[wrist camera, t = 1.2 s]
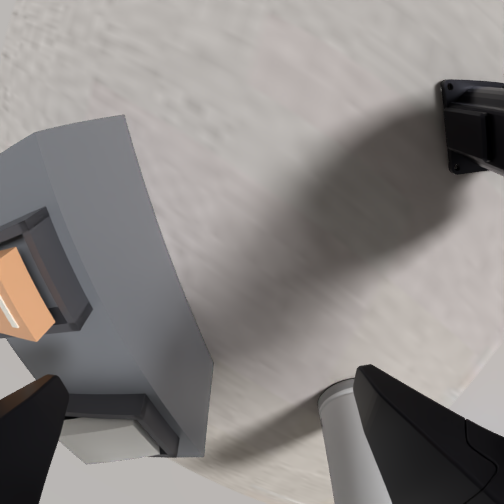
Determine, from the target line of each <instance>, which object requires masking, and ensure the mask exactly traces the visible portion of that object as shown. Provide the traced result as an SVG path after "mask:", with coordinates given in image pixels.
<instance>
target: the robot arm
mask: <svg viewBox="0 0 504 504" xmlns="http://www.w3.org/2000/svg"><path fill="white" fill-rule="evenodd" d="M448 84H449V86H450V89H448V88H447V85H448ZM441 89H442V96H443V103H444V117H445V127H446V138H447V147H448V159H449V170H450V171H451V172H452V173H454V174H457V175H458V174H465V173H472V172H479V171H487V170H491V171H493V172H495V173H497V174H500V175H502V176H504V83H498V82H487V81H473V80H443V81H442V83H441ZM456 164H457V168H456V169H455V165H456ZM353 393H354V397H355V401H356V404H357V408H358V412H359V416H360V419H361V423H362V427H363V431H364V434H365V436H366V439H367V441H368V444H369V446H370V449H371V451H372V454H373V456H374V459H375V461H376V464H377V466H378V469H379V471H380V474H381V476H382V479H383V481H384V484H385V486H386V489H387V491H388V494H389V497H390V499H391V502H392V504H504V437H502V436H500V435H498V434H496V433H493V432H491V431H489V430H487V429H485V428H483V427H481V426H479V425H477V424H475V423H474V422H472V421H470V420H468V419H466V420H465V418H464V417H462V416H460V415H458V414H456V413H455V412H453V411H451V410H449V409H448V408H446V407H444V406H442V405H440V404H439V403H437V402H435V401H433V400H432V399H430V398H428V397H426V396H425V395H423V394H421V393H419V392H418V391H416V390H414V389H413V388H411V387H409V386H407V385H406V384H404V383H402V382H401V381H399V380H397V379H395V378H394V377H392V376H390V375H389V374H387V373H385V372H384V371H382V370H380V369H379V368H377V367H375V366H373V365H371V364H369V365H363V366H359V367H358V368H357V371H356V375H355V379H354V383H353ZM68 403H69V392H68V390H67V389H66V387H65V385H64V384H63V382H62V380H61V379H60V377H59V376H57V375H52V374H47V375H45V376H43V377H41V378H39V379H37V380H36V381H34V382H32V383H30V384H28V385H26V386H25V387H23V388H21V389H19V390H17V391H16V392H14V393H12V394H10V395H8V396H6V397H4V398H3V399H1V400H0V504H39V501H40V497H41V493H42V490H43V486H44V483H45V480H46V477H47V474H48V470H49V467H50V464H51V461H52V458H53V455H54V452H55V449H56V446H57V443H58V441H59V438H60V434H61V431H62V427H63V423H64V419H65V415H66V411H67V407H68Z"/></svg>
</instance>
